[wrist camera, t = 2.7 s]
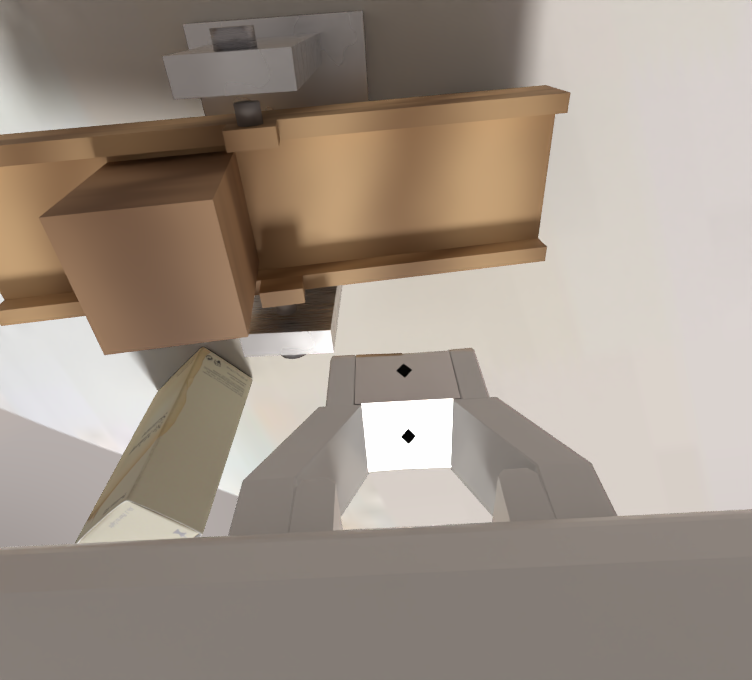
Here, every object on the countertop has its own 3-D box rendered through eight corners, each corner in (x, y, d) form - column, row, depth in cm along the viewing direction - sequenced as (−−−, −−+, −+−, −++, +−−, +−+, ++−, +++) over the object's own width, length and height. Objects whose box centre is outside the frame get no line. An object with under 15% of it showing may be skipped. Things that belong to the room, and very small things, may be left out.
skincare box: (203, 343, 32) (125, 494, 22) (256, 379, 34) (206, 534, 24) (155, 393, 35) (65, 548, 25) (207, 424, 37) (143, 581, 27)
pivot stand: (362, 10, 22) (354, 14, 14) (379, 270, 29) (379, 363, 22) (188, 23, 22) (89, 33, 14) (248, 277, 29) (204, 371, 22)
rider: (234, 149, 19) (212, 199, 14) (259, 262, 21) (248, 336, 17) (107, 162, 18) (38, 217, 13) (149, 274, 21) (104, 355, 16)
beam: (522, 60, 22) (589, 75, 17) (505, 234, 27) (553, 286, 22) (-34, 108, 20) (-143, 140, 15) (55, 286, 25) (-5, 355, 20)
